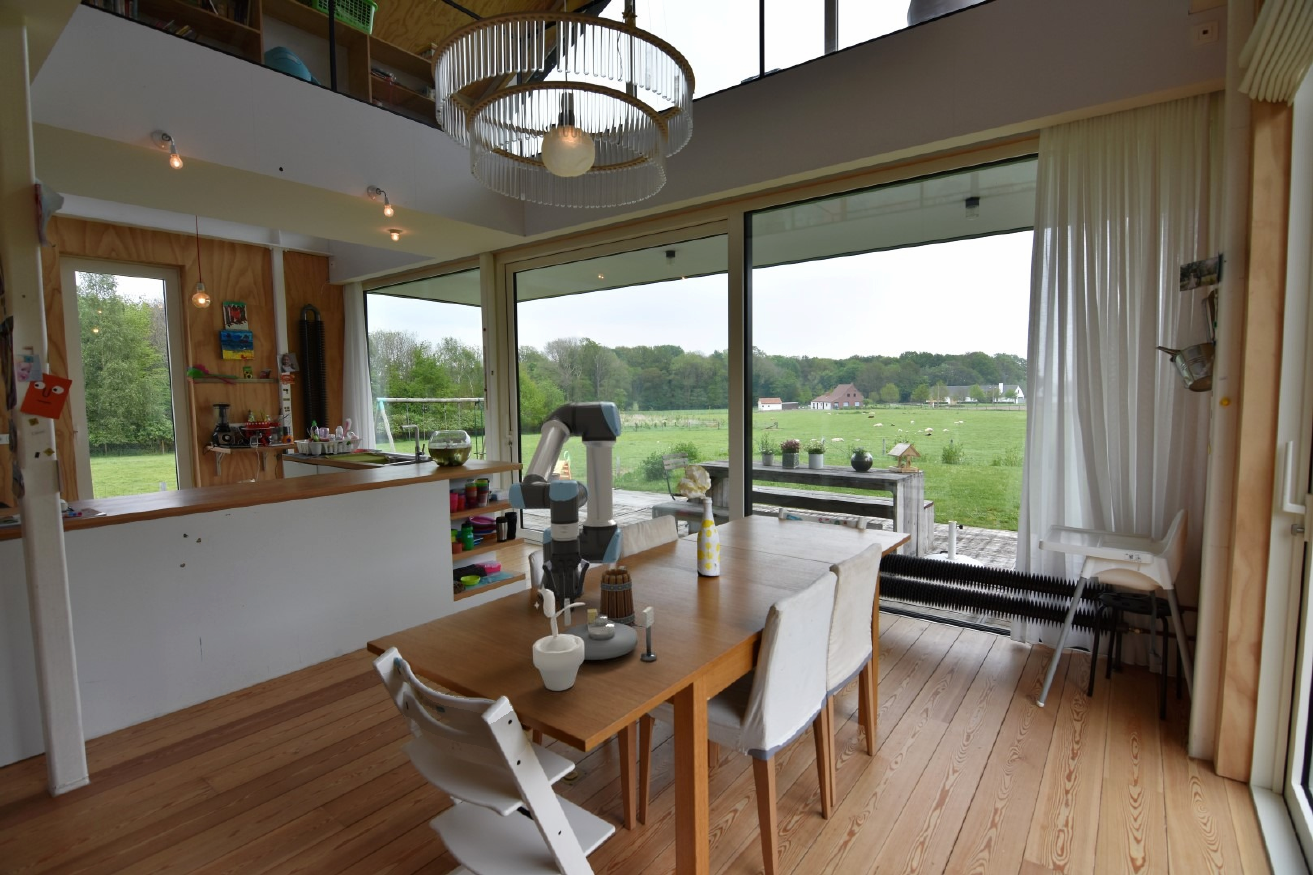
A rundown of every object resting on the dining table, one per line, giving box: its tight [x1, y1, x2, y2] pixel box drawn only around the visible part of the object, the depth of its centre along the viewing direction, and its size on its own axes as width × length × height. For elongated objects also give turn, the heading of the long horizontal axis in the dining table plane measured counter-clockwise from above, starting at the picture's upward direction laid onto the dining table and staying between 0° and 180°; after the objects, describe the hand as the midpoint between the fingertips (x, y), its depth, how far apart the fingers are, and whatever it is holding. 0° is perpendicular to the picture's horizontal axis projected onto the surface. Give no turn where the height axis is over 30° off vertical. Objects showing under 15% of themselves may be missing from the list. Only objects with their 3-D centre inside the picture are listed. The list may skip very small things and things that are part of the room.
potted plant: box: [532, 585, 586, 692], centre depth 139 cm, size 13×12×25 cm
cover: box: [588, 614, 615, 641], centre depth 159 cm, size 7×7×5 cm
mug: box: [598, 565, 636, 627], centre depth 181 cm, size 16×11×15 cm
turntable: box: [562, 608, 638, 661], centre depth 159 cm, size 20×20×6 cm
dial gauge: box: [630, 606, 658, 662], centre depth 154 cm, size 7×4×12 cm, turn 66°
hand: (567, 623), depth 165 cm, fingers closed
